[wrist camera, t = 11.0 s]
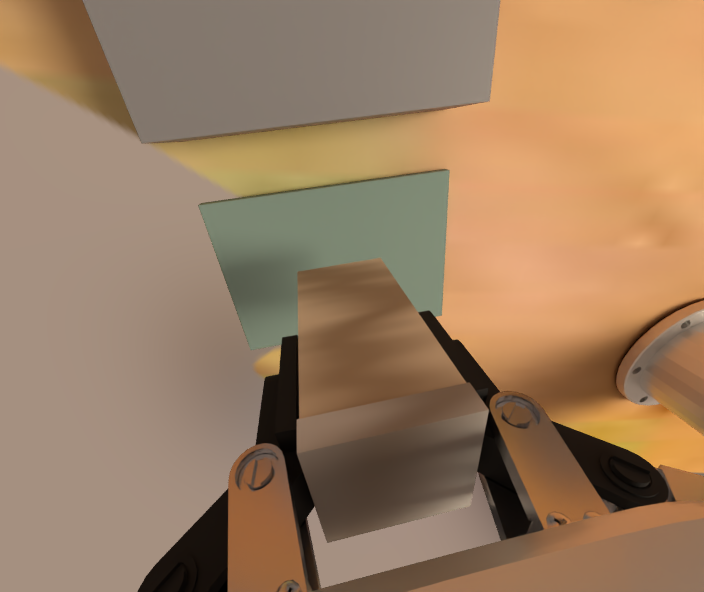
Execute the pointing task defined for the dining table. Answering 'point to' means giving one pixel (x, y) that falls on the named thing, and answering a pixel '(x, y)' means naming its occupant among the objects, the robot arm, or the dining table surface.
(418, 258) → the mat
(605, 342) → the dining table surface
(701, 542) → the robot arm
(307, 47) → the grey plate with hole
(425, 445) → the plug
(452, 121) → the dining table surface
